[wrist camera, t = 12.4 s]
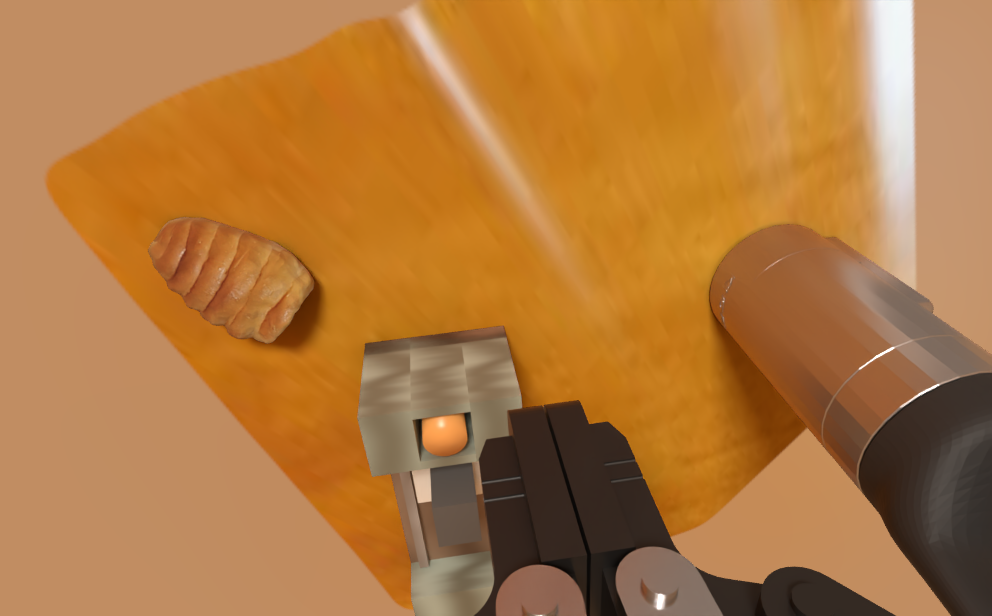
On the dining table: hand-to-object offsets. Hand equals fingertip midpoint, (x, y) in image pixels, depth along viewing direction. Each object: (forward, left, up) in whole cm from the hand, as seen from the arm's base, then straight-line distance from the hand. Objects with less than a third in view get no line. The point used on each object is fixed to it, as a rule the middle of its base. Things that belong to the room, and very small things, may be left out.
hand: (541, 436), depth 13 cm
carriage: (+3, +25, -25) cm, 35 cm away
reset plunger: (+3, +18, -25) cm, 31 cm away
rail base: (+3, +29, -27) cm, 40 cm away
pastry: (+15, +9, -28) cm, 32 cm away
